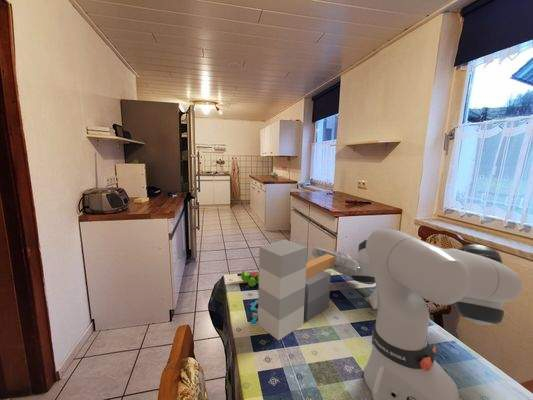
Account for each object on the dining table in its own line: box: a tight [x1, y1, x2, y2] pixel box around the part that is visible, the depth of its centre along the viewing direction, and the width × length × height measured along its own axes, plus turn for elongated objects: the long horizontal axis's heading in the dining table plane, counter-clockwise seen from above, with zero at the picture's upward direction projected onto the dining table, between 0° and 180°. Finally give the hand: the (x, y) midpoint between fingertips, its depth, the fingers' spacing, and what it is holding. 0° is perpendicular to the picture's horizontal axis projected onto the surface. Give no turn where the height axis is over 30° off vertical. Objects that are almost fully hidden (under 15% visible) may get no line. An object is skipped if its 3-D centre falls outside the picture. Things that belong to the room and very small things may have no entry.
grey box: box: [303, 270, 332, 323], centre depth 94 cm, size 10×13×14 cm
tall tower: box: [257, 239, 308, 341], centre depth 83 cm, size 10×12×28 cm
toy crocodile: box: [240, 269, 259, 287], centre depth 112 cm, size 20×7×6 cm, turn 74°
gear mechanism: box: [250, 299, 259, 325], centre depth 94 cm, size 20×5×9 cm
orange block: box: [306, 254, 335, 279], centre depth 95 cm, size 4×20×4 cm, turn 132°
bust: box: [368, 288, 378, 310], centre depth 97 cm, size 12×8×11 cm
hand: (325, 253), depth 98 cm, fingers open, 8 cm apart
